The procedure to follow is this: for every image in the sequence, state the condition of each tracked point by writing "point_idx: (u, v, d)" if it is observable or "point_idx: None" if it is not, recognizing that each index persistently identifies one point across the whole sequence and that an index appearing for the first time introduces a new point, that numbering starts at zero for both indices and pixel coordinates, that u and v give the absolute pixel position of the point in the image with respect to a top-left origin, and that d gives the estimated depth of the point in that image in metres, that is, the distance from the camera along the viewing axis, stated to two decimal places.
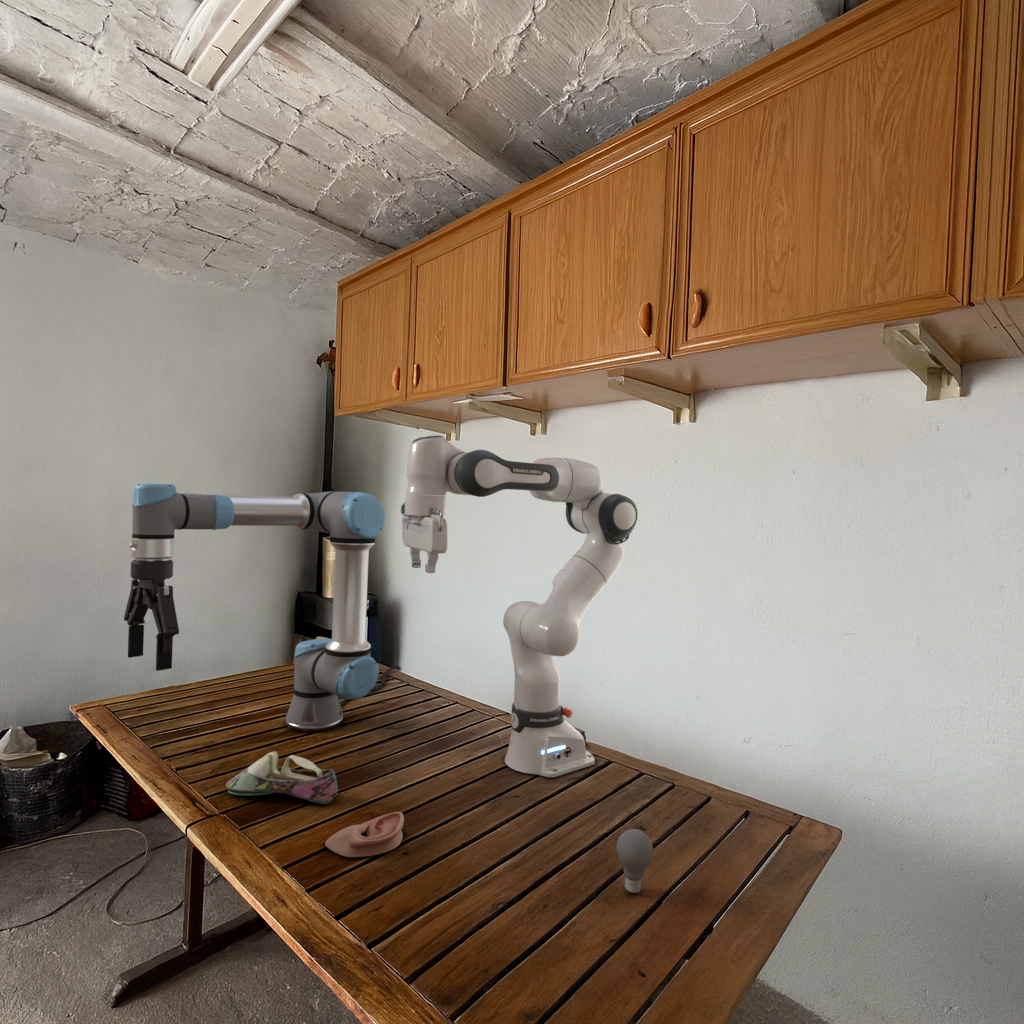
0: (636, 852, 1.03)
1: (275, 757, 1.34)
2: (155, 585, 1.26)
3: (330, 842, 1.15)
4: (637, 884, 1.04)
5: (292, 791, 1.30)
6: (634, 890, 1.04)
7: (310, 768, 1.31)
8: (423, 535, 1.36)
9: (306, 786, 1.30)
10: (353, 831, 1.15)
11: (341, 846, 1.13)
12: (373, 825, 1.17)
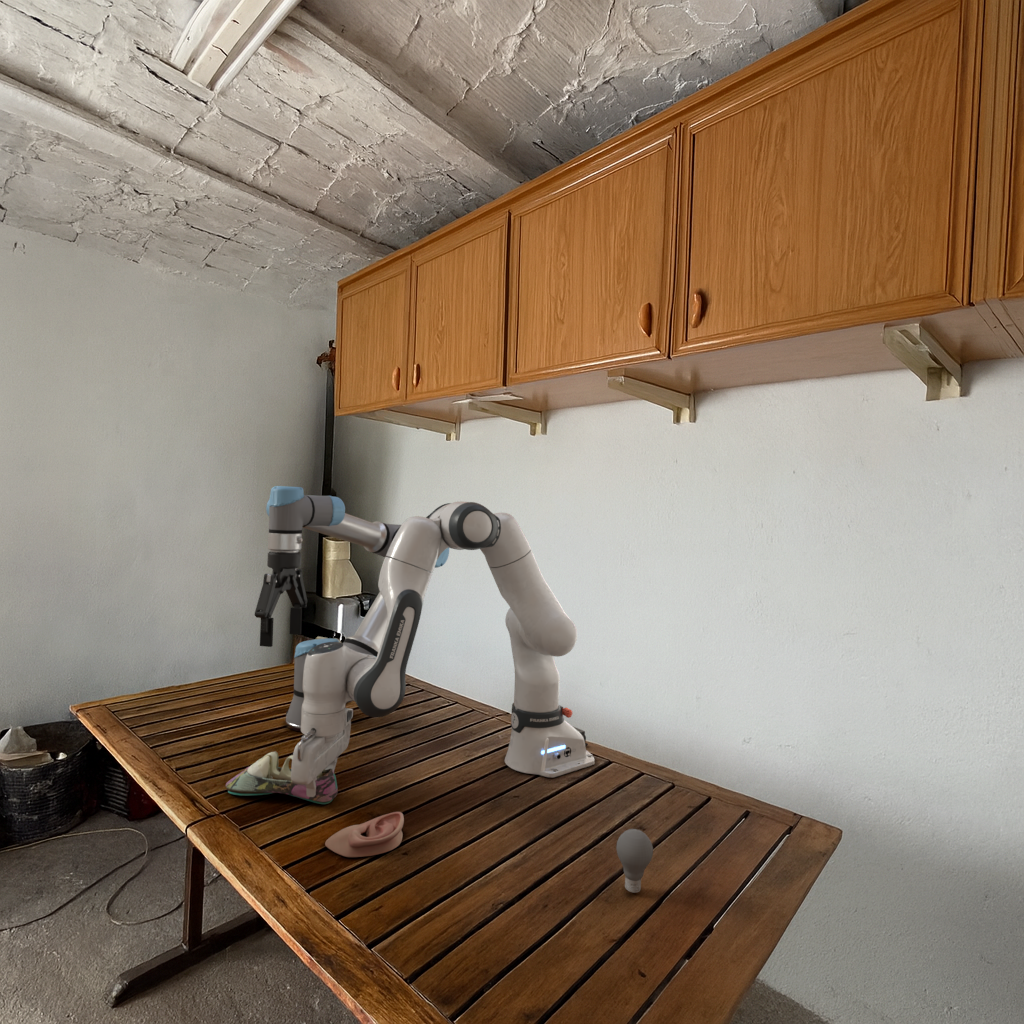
0: (636, 852, 1.03)
1: (275, 757, 1.34)
2: None
3: (330, 842, 1.15)
4: (637, 884, 1.04)
5: (292, 791, 1.30)
6: (634, 890, 1.04)
7: None
8: None
9: None
10: (353, 831, 1.15)
11: (341, 846, 1.13)
12: (373, 825, 1.17)
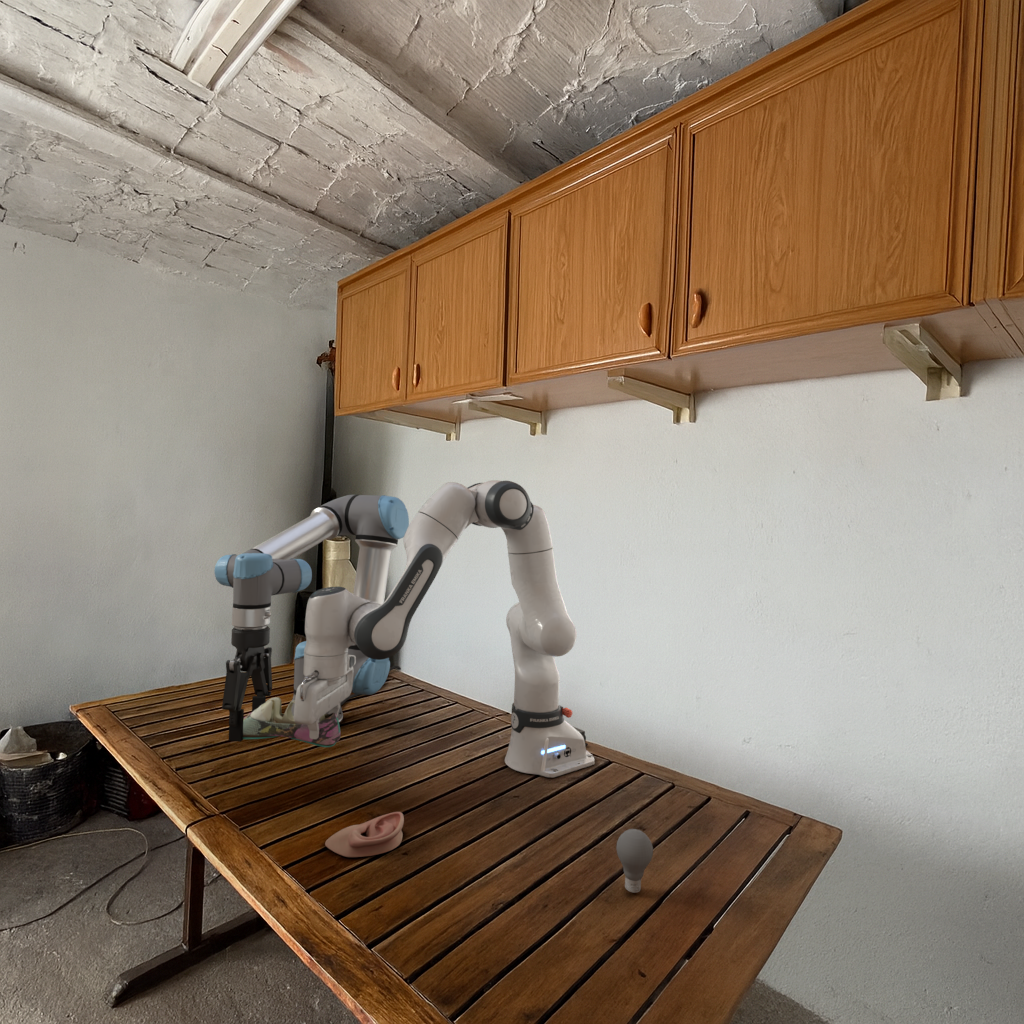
0: (636, 852, 1.03)
1: (278, 702, 1.34)
2: None
3: (330, 842, 1.15)
4: (637, 884, 1.04)
5: (295, 734, 1.30)
6: (634, 890, 1.04)
7: None
8: None
9: None
10: (353, 831, 1.15)
11: (341, 846, 1.13)
12: (373, 825, 1.17)
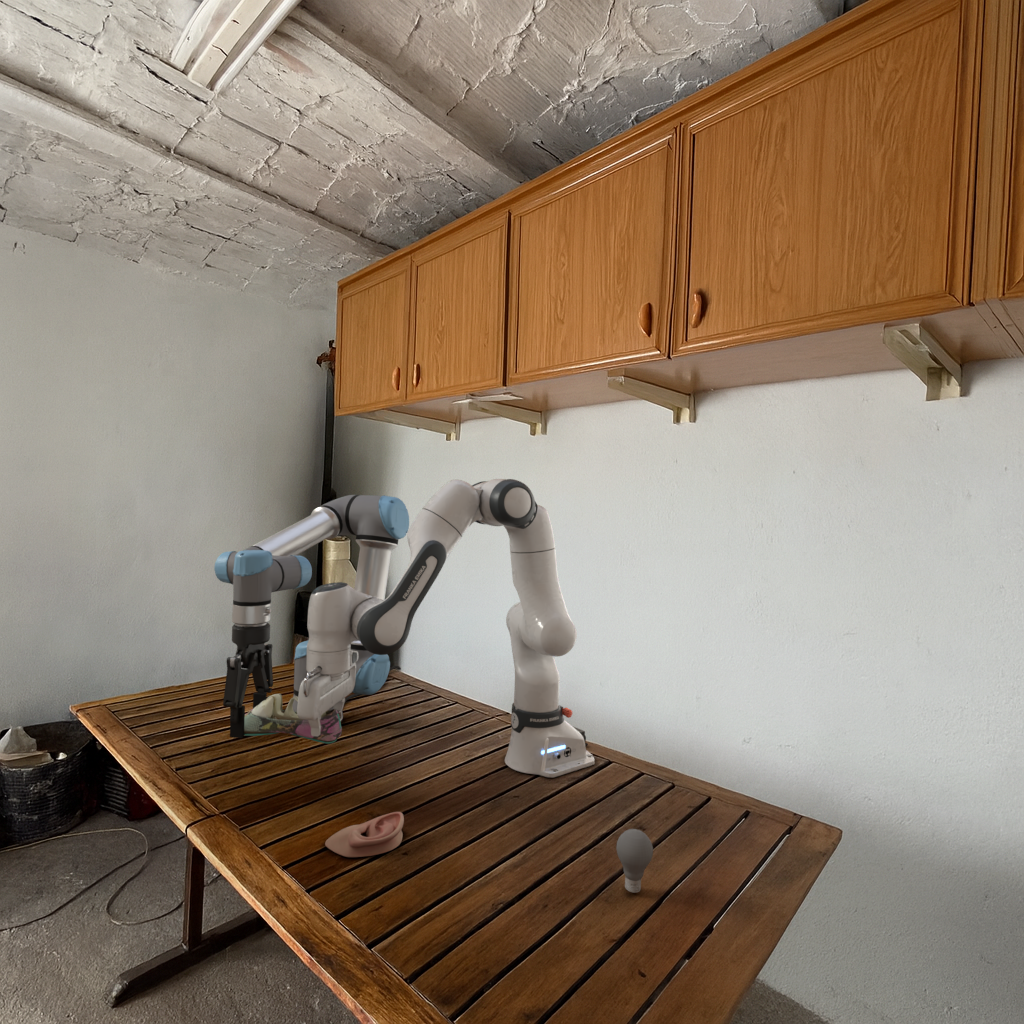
0: (636, 852, 1.03)
1: (279, 699, 1.35)
2: None
3: (330, 842, 1.15)
4: (637, 884, 1.04)
5: (296, 731, 1.30)
6: (634, 890, 1.04)
7: None
8: None
9: None
10: (353, 831, 1.15)
11: (341, 846, 1.13)
12: (373, 825, 1.17)
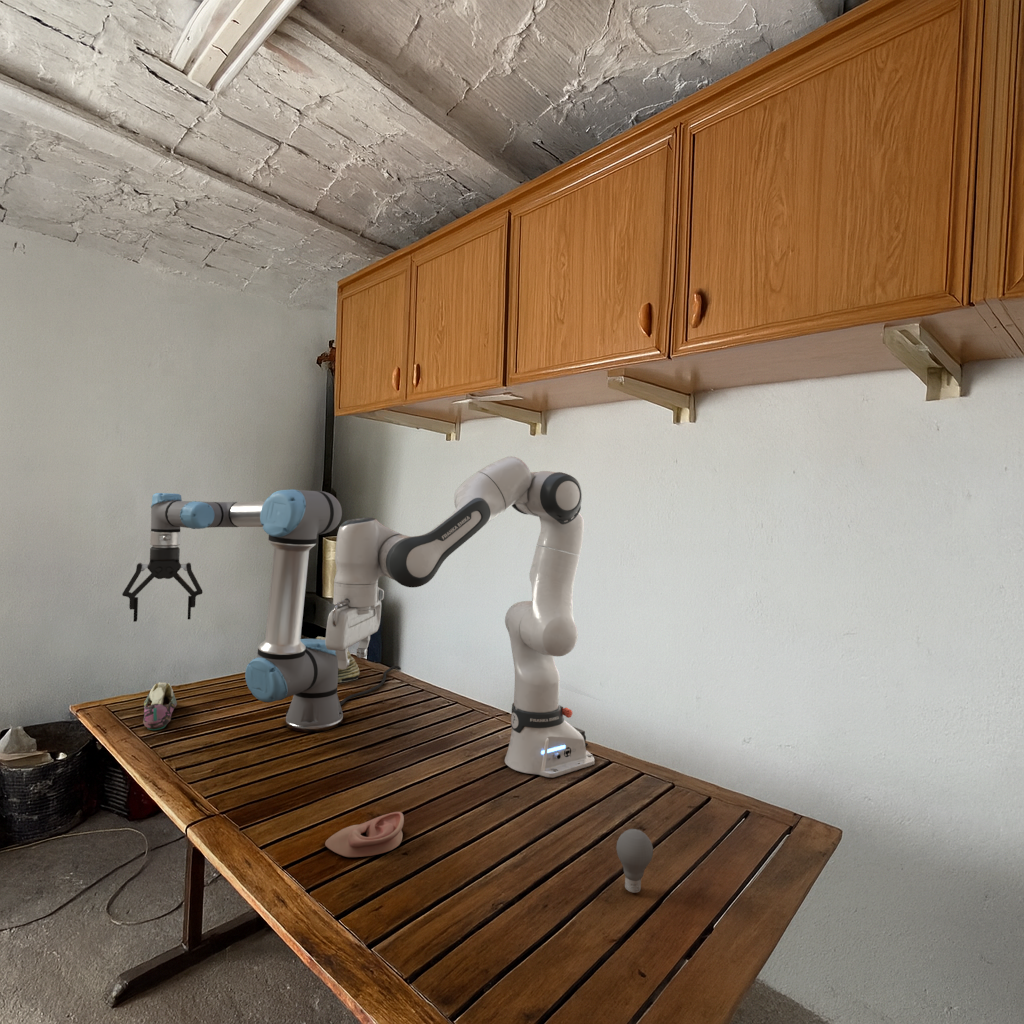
0: (636, 852, 1.03)
1: (162, 686, 1.78)
2: (179, 563, 1.84)
3: (330, 842, 1.15)
4: (637, 884, 1.04)
5: None
6: (634, 890, 1.04)
7: (152, 699, 1.69)
8: None
9: None
10: (353, 831, 1.15)
11: (341, 846, 1.13)
12: (373, 825, 1.17)
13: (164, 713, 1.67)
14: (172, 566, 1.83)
